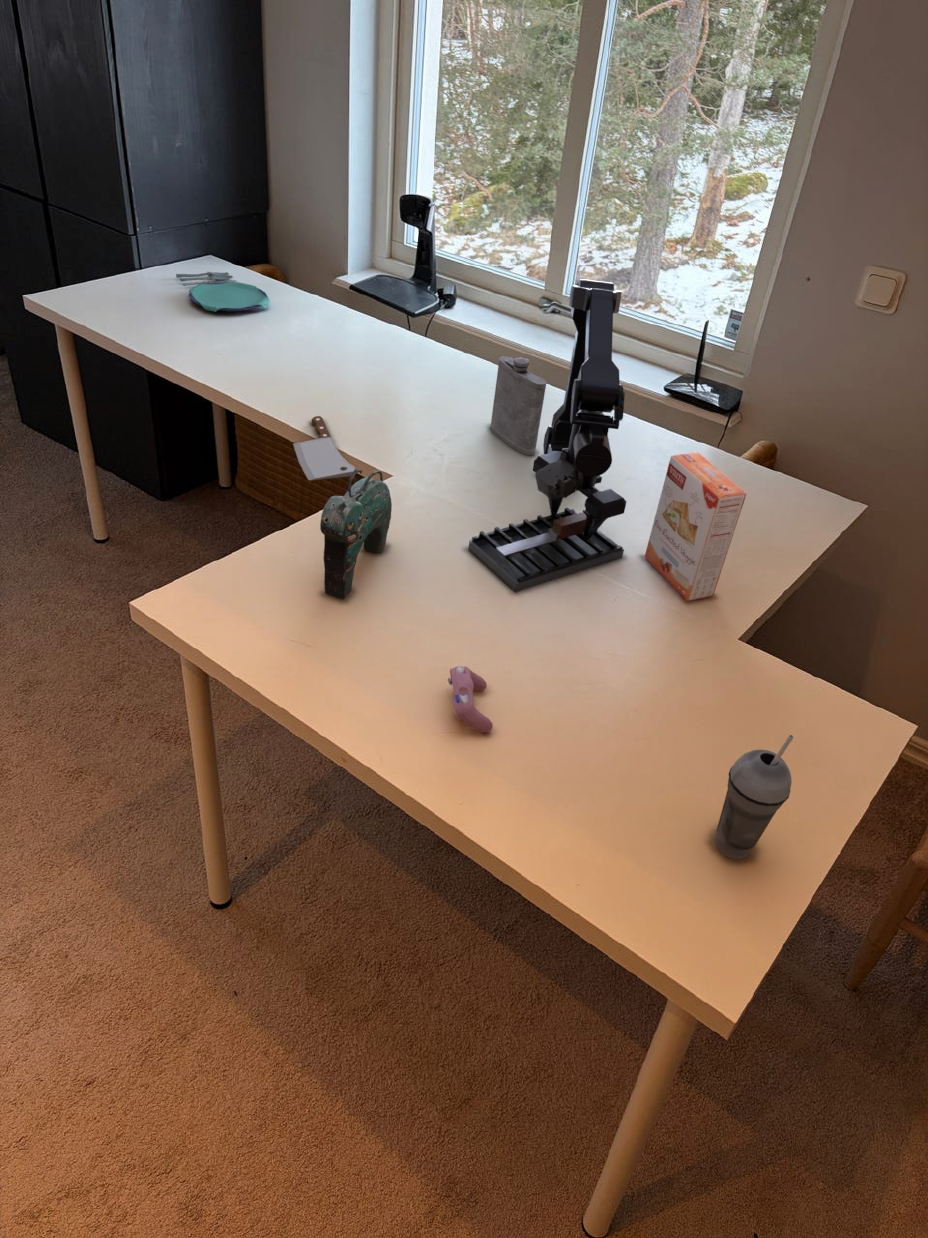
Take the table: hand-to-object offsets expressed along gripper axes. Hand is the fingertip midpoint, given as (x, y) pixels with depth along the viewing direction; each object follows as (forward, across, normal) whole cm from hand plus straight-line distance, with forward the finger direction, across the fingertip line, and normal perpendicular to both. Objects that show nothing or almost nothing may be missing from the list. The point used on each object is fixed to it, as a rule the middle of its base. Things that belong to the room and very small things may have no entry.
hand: (569, 526), depth 167 cm
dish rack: (+5, 0, -4) cm, 6 cm away
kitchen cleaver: (+5, -50, -23) cm, 55 cm away
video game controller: (+5, +27, -40) cm, 48 cm away
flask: (+5, -38, +16) cm, 41 cm away
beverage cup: (+5, +63, -24) cm, 67 cm away
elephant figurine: (+5, -10, -38) cm, 39 cm away
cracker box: (+5, +16, +12) cm, 21 cm away
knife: (+1, 0, -4) cm, 5 cm away
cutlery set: (+5, -135, -8) cm, 136 cm away
